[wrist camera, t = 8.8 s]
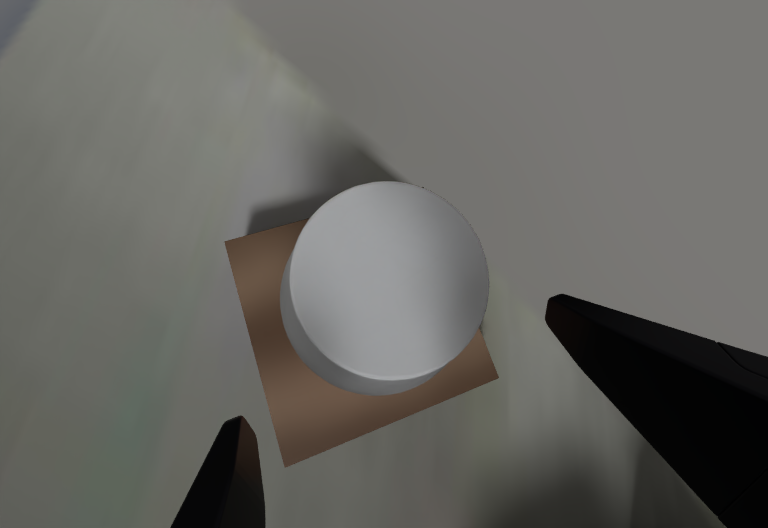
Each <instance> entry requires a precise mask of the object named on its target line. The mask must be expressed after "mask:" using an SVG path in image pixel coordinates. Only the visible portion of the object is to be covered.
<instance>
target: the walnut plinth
mask: <svg viewBox="0 0 768 528" xmlns="http://www.w3.org/2000/svg"><path fill="white" fill-rule="evenodd" d="M422 188H424V187H422ZM309 219H310V218H308V219H305V220H301V221H298V222H294V223H290V224H287V225H283V226H279V227H276V228H272V229H268V230H265V231H261V232H257V233H254V234H250V235H246V236H243V237H239V238H236V239H232V240H228V241H225V246H226V250H227V253H228V257H229V261H230V265H231V268H232V272H233V276H234V280H235V283H236V287H237V291H238V295H239V298H240V302H241V306H242V309H243V313H244V317H245V321H246V324H247V328H248V332H249V336H250V339H251V343H252V347H253V351H254V354H255V358H256V362H257V365H258V369H259V373H260V377H261V380H262V384H263V388H264V392H265V395H266V399H267V403H268V407H269V410H270V414H271V418H272V422H273V425H274V429H275V433H276V436H277V440H278V444H279V448H280V451H281V455H282V459H283V463H284V466H285V467H288V466H290V465H293V464H295V463H297V462H300V461H302V460H305V459H307V458H309V457H312V456H314V455H316V454H319V453H321V452H324V451H326V450H328V449H331V448H333V447H336V446H338V445H340V444H343V443H345V442H347V441H350V440H352V439H355V438H357V437H359V436H362V435H364V434H366V433H369V432H371V431H374V430H376V429H378V428H381V427H383V426H386V425H388V424H390V423H393V422H395V421H397V420H400V419H402V418H405V417H407V416H409V415H412V414H414V413H417V412H419V411H421V410H424V409H426V408H428V407H431V406H433V405H436V404H438V403H440V402H443V401H445V400H448V399H450V398H452V397H455V396H457V395H459V394H462V393H464V392H467V391H469V390H471V389H474V388H476V387H479V386H481V385H483V384H486V383H488V382H490V381H493V380H495V379H498V378H499V377H498V374H497V372H496V369H495V367H494V364H493V362H492V359H491V357H490V354H489V352H488V349H487V346H486V344H485V341H484V339H483V336H482V334H481V331H480V329H479V328H478V330H477V332H476V334H475V335H474V337H473V339H472V340H471V341H470V342H469V344H468V345H467V346H466V347H465V348H464V350H463V351H462V352H461V353H460V354H459V355H457V356H456V357H455V358H454V359H453V360H451V361H450V362H449V363H448V364H447V365H446V366H445V367H444V368H443V369H442V370H441V371H440V372H439V373H437V374H436V375H435V376H434V377H432V378H431V379H429V380H428V381H426V382H425V383H423V384H421V385H419V386H417V387H415V388H412V389H410V390H407V391H404V392H401V393H397V394H391V395H381V396H370V395H362V394H357V393H353V392H349V391H346V390H343V389H340V388H338V387H336V386H334V385H332V384H330V383H328V382H327V381H325V380H324V379H322V378H321V377H319V376H318V375H317V374H315V373H314V372H313V371H312V370H311V369H310V368H309V367H308V366H307V365H306V364H305V363H304V362H303V361H302V360H301V358H300V357H299V356H298V354H297V353H296V351H295V349H294V348H293V346H292V344H291V342H290V340H289V338H288V336H287V333H286V331H285V328H284V325H283V320H282V315H281V309H280V289H281V282H282V277H283V273H284V269H285V266H286V264H287V261H288V259H289V257H290V255H291V253H292V251H293V249H294V247H295V244H296V242H297V239H298V237H299V235H300V233H301V231H302V229H303V228H304V226H305V225H306V223H307V222H308V220H309Z"/></svg>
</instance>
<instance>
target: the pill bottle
mask: <svg viewBox="0 0 768 528" xmlns="http://www.w3.org/2000/svg"><path fill="white" fill-rule="evenodd" d="M488 294H489V273H488V267H487V262H486V258H485V254H484V251H483V249H482V246H481V243H480V240H479V238H478V237H477V235H476V233H475V232H474V230H473V228H472V227H471V226H470V224H469V223H468V221H467V220H466V219H465V218H464V216H463V215H462V214H461V213H460V212H459V211H458V210H457V209H456V208H455V207H454V206H453V205H451V204H450V203H449V202H448V201H446V200H445V199H444V198H442V197H440V196H438V195H437V194H435V193H433V192H432V191H429V190H427V189H424V188H422V187H419V186H416V185H412V184H409V183H403V182H396V181H380V182H371V183H366V184H362V185H358V186H354V187H352V188H349V189H347V190H345V191H343V192H341V193H339V194H338V195H336V196H334V197H332V198H331V199H329V200H328V201H327V202H326V203H324V204H323V205H322V206H321V207H320V208H319V209H318V210H317V211H316V212H315V213H314V214H313V215H312V216H311V218H310V219H309V220H308V222H307V223H306V225H305V226H304V228H303V229H302V231H301V233H300V235H299V237H298V239H297V242H296V244H295V247H294V249H293V251H292V253H291V255H290V257H289V259H288V261H287V264H286V266H285V269H284V273H283V277H282V282H281V289H280V309H281V315H282V320H283V325H284V328H285V331H286V333H287V336H288V338H289V340H290V342H291V344H292V346H293V348H294V349H295V351H296V353H297V354H298V356H299V357H300V358H301V360H302V361H303V362H304V363H305V364H306V365H307V366H308V367H309V368H310V369H311V370H312V371H313V372H314V373H315V374H317V375H318V376H319V377H321V378H322V379H324V380H325V381H327V382H328V383H330V384H332V385H334V386H336V387H338V388H340V389H343V390H346V391H349V392H353V393H357V394H362V395H370V396H381V395H391V394H397V393H401V392H404V391H407V390H410V389H412V388H415V387H417V386H419V385H421V384H423V383H425V382H426V381H428V380H429V379H431V378H432V377H434V376H435V375H436V374H437V373H439V372H440V371H441V370H442V369H443V368H444V367H445V366H446V365H447V364H448V363H449V362H450V361H451V360H453V359H454V358H455V357H456V356H457V355H459V354H460V353H461V352H462V351H463V350H464V348H465V347H466V346H467V345H468V344H469V342H470V341H471V340H472V339H473V337H474V335H475V334H476V332H477V330H478V328H479V326H480V324H481V322H482V319H483V316H484V314H485V311H486V307H487V302H488Z"/></svg>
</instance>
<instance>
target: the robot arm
mask: <svg viewBox="0 0 768 528" xmlns="http://www.w3.org/2000/svg"><path fill="white" fill-rule="evenodd" d="M545 321H546V323H547V325H548V327H549V328H550V329H551V331H552V332H553V333H554V335H555V336H556V337H557V338H558V340H559V341H560V342H561V344H562V345H563V346H564V348H565V349H566V350H567V352H568V353H569V354H570V356H571V357H572V358H573V360H574V361H575V362H576V363H577V365H578V366H579V367H580V368H581V369H582V370H583V372H584V373H585V374H586V375H587V376H588V377H589V378H590V379H591V380H592V381H593V383H594V384H595V385H596V386H597V387H598V388H599V389H600V390H601V391H602V392H603V393H604V395H605V396H606V397H607V398H608V399H609V400H610V401H611V402H612V403H613V404H614V405H615V406H616V408H617V409H618V410H619V411H620V412H621V413H622V414H623V415H624V416H625V417H626V418H627V420H628V421H629V422H630V423H631V424H632V425H633V426H634V427H635V428H636V429H637V430H638V431H639V433H640V434H641V435H642V436H643V437H644V438H645V439H646V440H647V441H648V442H649V443H650V445H651V446H652V447H653V448H654V449H655V450H656V451H657V452H658V453H659V454H660V455H661V456H662V458H663V459H664V460H665V461H666V462H667V463H668V464H669V465H670V466H671V467H672V468H673V470H674V471H675V472H676V473H677V474H678V475H679V476H680V477H681V478H682V479H683V480H684V481H685V483H686V484H687V485H688V486H689V487H690V488H691V489H692V490H693V491H694V492H695V493H696V494H697V496H698V497H699V498H700V499H701V500H702V501H703V502H704V503H705V504H706V505H707V506H708V508H709V509H710V510H711V511H712V512H713V513H714V514H715V515H716V516H717V517H718V519H719V520H720V521H721V522H722V523H723V524H724V525H725V526H726V527H727V528H768V357H766V356H763V355H760V354H756V353H753V352H749V351H746V350H743V349H740V348H736V347H733V346H730V345H727V344H723V343H720V342H717V343H716V342H715V341H713V340H710V339H707V338H703V337H700V336H697V335H694V334H691V333H687V332H684V331H681V330H678V329H675V328H672V327H668V326H665V325H662V324H659V323H656V322H652V321H649V320H646V319H642V318H639V317H636V316H633V315H629V314H627V313H623V312H620V311H617V310H613V309H610V308H607V307H604V306H601V305H598V304H594V303H591V302H588V301H585V300H581V299H578V298H575V297H572V296H568V295H565V294H559V295H556V296H554V297H551V298H549V300H548V303H547V309H546V314H545ZM170 528H265V501H264V492H263V484H262V476H261V468H260V460H259V452H258V444H257V438H256V435H255V433H254V431H253V430H252V428H251V427H250V425H249V424H248V422H247V421H246V419H245V418H244V417H243V416H238V417H235V418H232V419H230V420H227V421H226V422H225V423H224V424H223V425H222V427H221V429H220V431H219V433H218V435H217V437H216V439H215V441H214V443H213V445H212V447H211V449H210V451H209V453H208V455H207V457H206V459H205V461H204V463H203V465H202V466H201V468H200V470H199V472H198V474H197V476H196V478H195V480H194V482H193V484H192V486H191V488H190V490H189V492H188V494H187V496H186V498H185V500H184V502H183V504H182V506H181V508H180V510H179V512H178V514H177V516H176V518H175V520H174V522H173V524H172V525H171V527H170Z"/></svg>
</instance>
